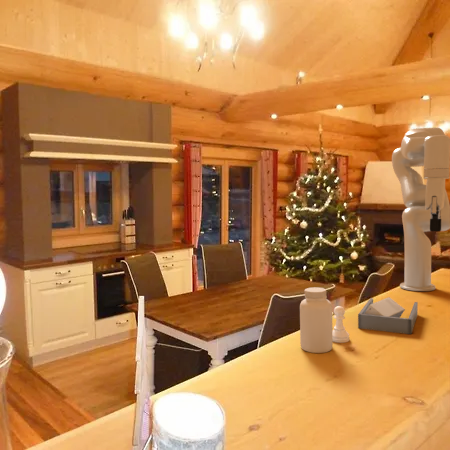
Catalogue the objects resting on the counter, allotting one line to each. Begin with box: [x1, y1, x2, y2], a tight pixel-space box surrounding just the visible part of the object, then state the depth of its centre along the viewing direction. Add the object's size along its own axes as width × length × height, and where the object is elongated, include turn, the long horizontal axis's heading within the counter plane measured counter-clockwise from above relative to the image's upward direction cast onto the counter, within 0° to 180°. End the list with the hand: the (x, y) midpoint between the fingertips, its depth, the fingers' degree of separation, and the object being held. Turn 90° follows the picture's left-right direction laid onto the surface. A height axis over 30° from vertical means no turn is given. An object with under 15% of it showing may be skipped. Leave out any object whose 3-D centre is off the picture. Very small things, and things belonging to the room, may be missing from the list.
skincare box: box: [365, 296, 406, 318], centre depth 133 cm, size 6×4×12 cm
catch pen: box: [357, 297, 419, 335], centre depth 134 cm, size 20×14×4 cm
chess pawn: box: [332, 305, 350, 344], centre depth 119 cm, size 5×5×9 cm
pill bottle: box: [299, 286, 334, 354], centre depth 113 cm, size 8×8×15 cm
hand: (435, 230), depth 148 cm, fingers closed
